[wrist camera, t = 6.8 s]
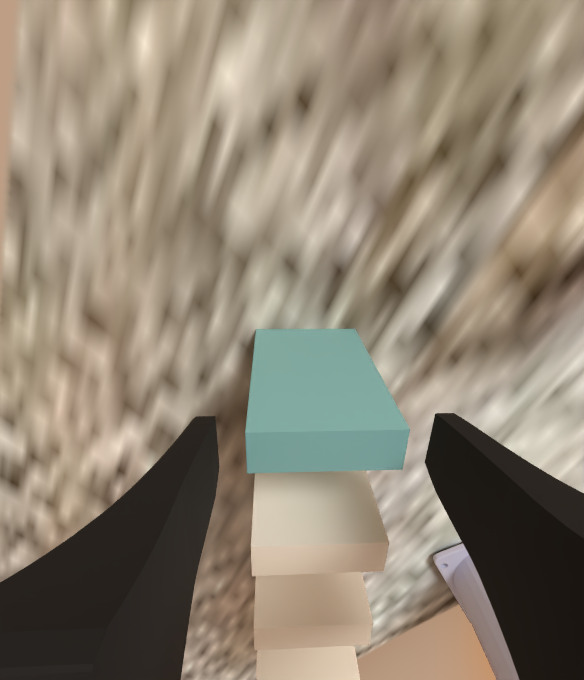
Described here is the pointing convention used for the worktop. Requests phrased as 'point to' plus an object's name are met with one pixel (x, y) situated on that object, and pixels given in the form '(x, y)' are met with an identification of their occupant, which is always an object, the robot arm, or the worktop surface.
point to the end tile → (320, 405)
